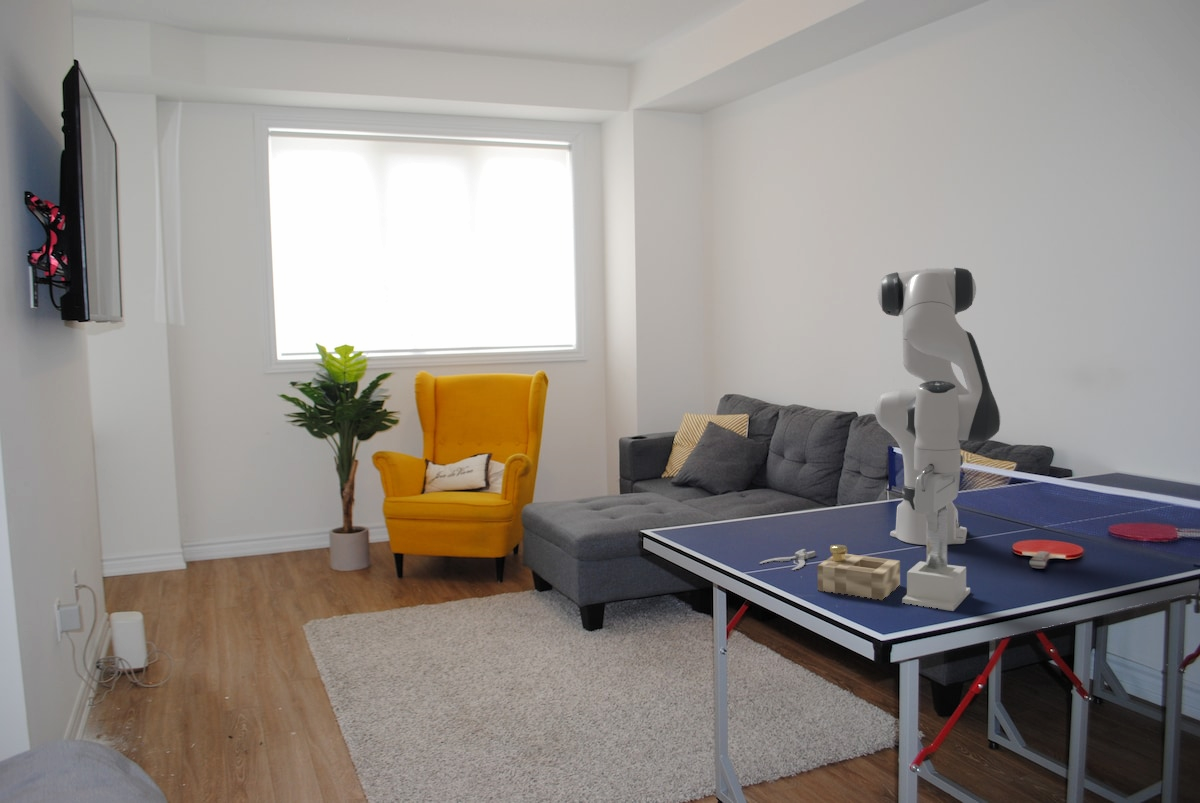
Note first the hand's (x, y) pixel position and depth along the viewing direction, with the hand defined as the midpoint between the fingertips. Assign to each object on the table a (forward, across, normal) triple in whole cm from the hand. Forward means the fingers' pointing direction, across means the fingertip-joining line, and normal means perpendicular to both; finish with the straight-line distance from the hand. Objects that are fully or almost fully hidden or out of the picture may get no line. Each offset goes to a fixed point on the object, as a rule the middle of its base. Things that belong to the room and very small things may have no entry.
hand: (936, 527), depth 186 cm
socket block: (+15, -1, +16) cm, 22 cm away
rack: (+15, 0, 0) cm, 15 cm away
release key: (+14, -1, +21) cm, 25 cm away
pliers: (+15, +13, +37) cm, 42 cm away
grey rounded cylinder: (+8, 0, 0) cm, 8 cm away
